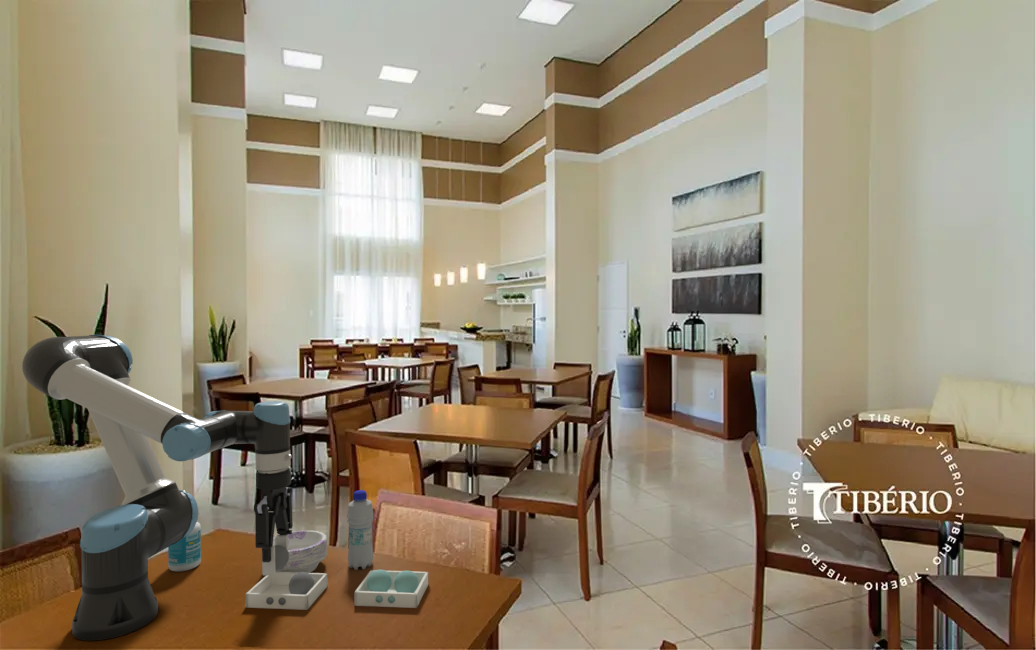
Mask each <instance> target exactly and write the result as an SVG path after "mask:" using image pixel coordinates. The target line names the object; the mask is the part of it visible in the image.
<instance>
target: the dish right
mask: <svg viewBox="0 0 1036 650" xmlns="http://www.w3.org/2000/svg"><path fill="white" fill-rule="evenodd" d="M376 570H377V569H370V571H369V572H368V573H367V574H366V576H365V577H364V579H363V580H362V581H361V583H360V584H359V585H358V587H357V588H356V589H355V591H354V592H353V593H354V594H353V595H354V596H353V597H354V606H357V607H383V608H405V609H406V608H410V609H413V608H414V609H417V608H418V606H419V605H420V602H421V601H422V598H423V596H424V594H425V592H426V590H427V588H428V586H429V571H416V570H415V571H412V572H414V573H415V574H416V576H417V578H418V587H417V589H416V591H415V592H414V593H403V592H396V590H395V587H394V582H395V578H396V576H397V575H398V574H399V573H400V572H402V571H403V570H386V571H387V572H388V573H389V574H390V576H391V586H390V588H389V590H388V591H387V592H374V591H369V589H368V586H367V581H368V578H369V576H370V574H371V573H372V572H374V571H376Z"/></svg>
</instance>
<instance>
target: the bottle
mask: <svg viewBox="0 0 1036 650" xmlns="http://www.w3.org/2000/svg"><path fill="white" fill-rule="evenodd" d="M367 497H368V494H367V491H366V490H363V489H359V490H355V491H354V492H353V499H352V501H350V502H349V503H348V507H347V513H346V520H347V521H346V522H347V525H348V549H347V550H348V552H347V562H348V567H349V568H350V569H352V568H353V569H354V570H355V571H356V570H359V567H360V568H361V569H362V570H365V569H367V567H371V566H372V565H373V560H374V547H373V520H374V513H375V512H374V509H373V502H372V500H369V499H368V498H367Z"/></svg>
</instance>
